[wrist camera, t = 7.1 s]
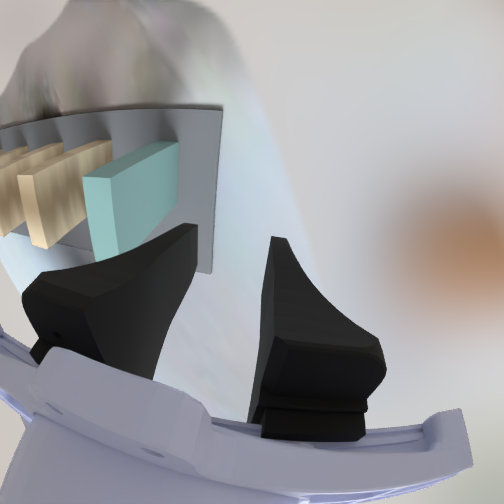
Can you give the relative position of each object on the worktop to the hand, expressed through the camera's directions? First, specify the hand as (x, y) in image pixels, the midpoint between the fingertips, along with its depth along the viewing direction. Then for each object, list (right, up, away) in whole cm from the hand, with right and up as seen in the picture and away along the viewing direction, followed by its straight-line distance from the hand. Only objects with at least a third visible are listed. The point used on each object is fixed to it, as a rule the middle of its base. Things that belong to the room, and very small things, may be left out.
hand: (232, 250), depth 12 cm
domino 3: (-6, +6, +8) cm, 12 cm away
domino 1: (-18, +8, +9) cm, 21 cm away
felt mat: (-17, +6, +10) cm, 21 cm away
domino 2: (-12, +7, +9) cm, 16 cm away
